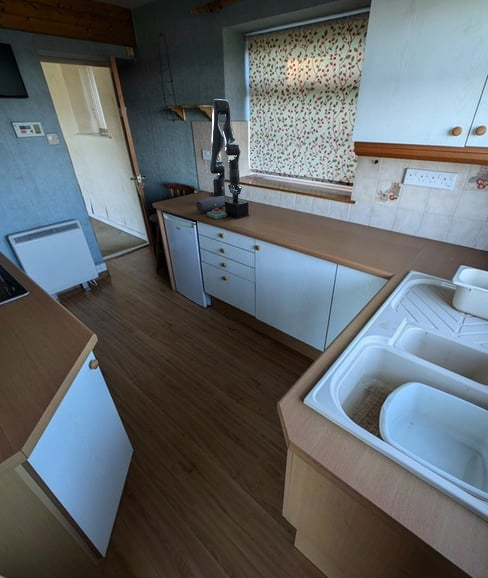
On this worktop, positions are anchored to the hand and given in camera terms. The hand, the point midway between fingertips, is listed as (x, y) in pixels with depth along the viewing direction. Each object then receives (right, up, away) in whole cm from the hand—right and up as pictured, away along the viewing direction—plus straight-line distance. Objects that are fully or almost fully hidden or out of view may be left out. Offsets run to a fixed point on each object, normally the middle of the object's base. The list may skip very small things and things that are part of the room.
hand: (235, 199), depth 217 cm
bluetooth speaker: (-19, -6, +11) cm, 23 cm away
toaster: (+1, -11, +1) cm, 12 cm away
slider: (0, 0, 0) cm, 0 cm away
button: (-14, -9, -2) cm, 17 cm away
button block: (-14, -12, 0) cm, 18 cm away
